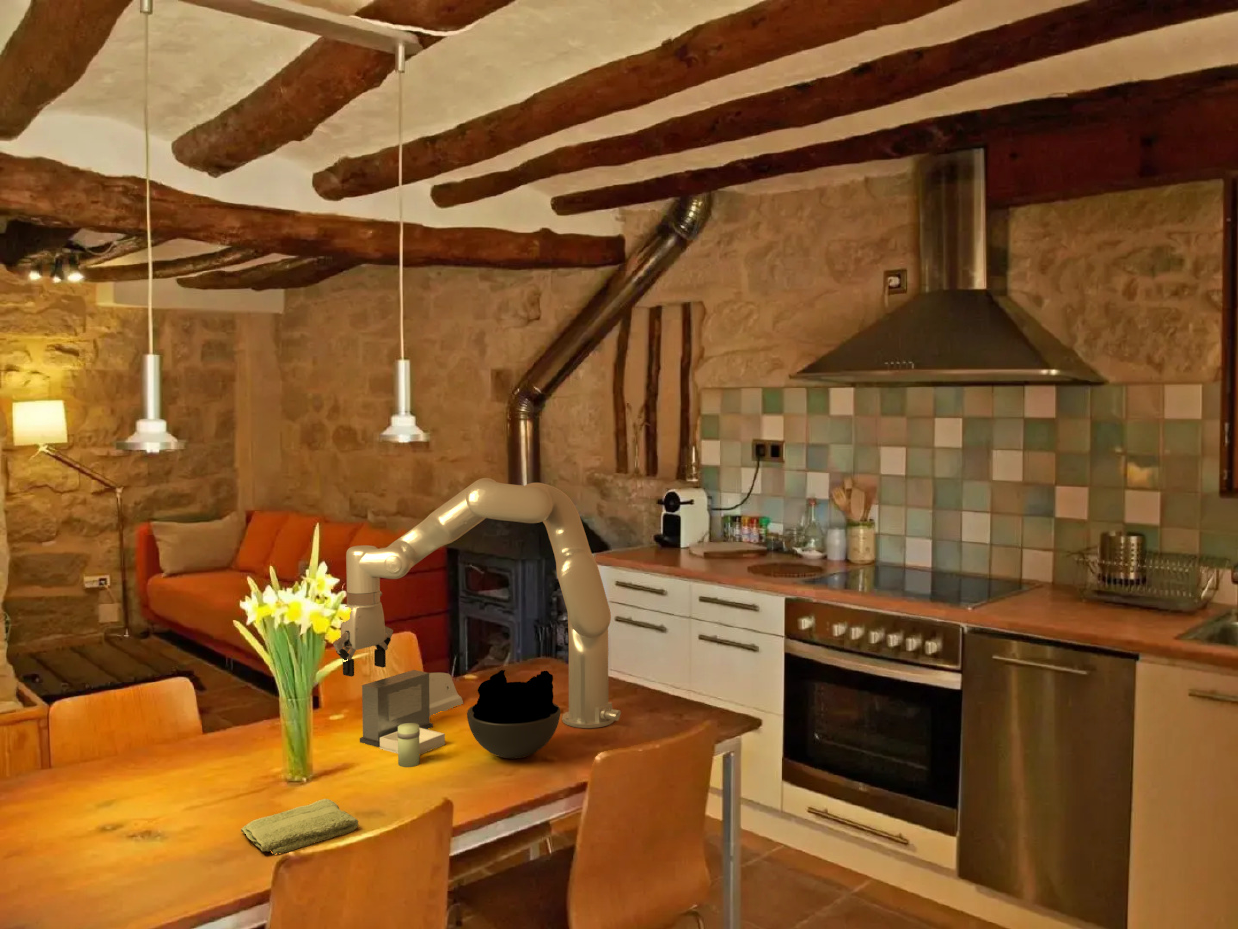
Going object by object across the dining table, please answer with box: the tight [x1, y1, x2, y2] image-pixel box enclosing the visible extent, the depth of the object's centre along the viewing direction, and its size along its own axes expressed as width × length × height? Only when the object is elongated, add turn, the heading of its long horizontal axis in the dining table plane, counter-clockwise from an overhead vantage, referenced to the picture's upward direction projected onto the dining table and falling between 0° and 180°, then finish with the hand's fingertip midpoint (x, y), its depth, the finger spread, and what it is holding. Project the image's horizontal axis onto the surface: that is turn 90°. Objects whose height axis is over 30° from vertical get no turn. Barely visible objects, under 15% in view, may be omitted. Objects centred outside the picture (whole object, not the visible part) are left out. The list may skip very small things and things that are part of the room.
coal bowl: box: [466, 669, 561, 759], centre depth 221 cm, size 20×20×19 cm
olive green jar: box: [397, 723, 420, 768], centre depth 217 cm, size 5×5×8 cm
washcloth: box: [240, 798, 359, 856], centre depth 182 cm, size 13×18×3 cm
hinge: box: [428, 672, 464, 717], centre depth 256 cm, size 17×5×10 cm, turn 147°
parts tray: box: [379, 728, 446, 755], centre depth 228 cm, size 10×10×2 cm
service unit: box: [359, 669, 434, 748], centre depth 236 cm, size 6×17×13 cm, turn 146°
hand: (364, 671), depth 241 cm, fingers open, 9 cm apart
